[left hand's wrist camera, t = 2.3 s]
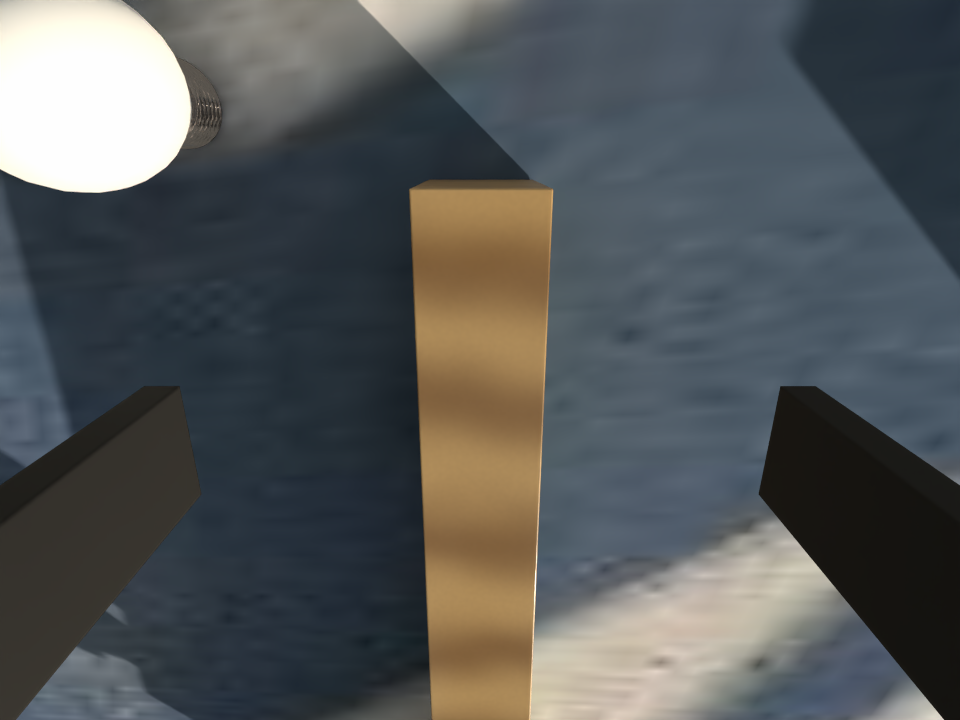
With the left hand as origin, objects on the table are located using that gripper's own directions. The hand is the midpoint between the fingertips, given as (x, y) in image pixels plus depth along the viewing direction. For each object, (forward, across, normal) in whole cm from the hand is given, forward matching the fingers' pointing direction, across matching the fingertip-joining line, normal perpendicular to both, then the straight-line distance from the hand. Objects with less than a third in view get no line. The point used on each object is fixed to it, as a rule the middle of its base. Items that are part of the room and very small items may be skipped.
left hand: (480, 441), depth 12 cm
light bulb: (+17, -14, +8) cm, 23 cm away
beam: (+17, 0, -21) cm, 27 cm away
